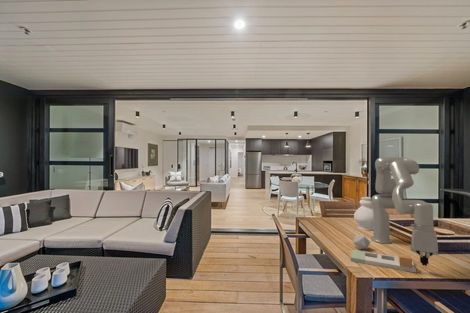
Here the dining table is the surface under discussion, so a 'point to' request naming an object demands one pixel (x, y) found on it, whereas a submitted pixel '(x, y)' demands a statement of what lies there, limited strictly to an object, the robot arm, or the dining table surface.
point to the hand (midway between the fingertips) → (424, 264)
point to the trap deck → (379, 260)
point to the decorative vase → (364, 214)
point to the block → (405, 260)
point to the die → (361, 242)
